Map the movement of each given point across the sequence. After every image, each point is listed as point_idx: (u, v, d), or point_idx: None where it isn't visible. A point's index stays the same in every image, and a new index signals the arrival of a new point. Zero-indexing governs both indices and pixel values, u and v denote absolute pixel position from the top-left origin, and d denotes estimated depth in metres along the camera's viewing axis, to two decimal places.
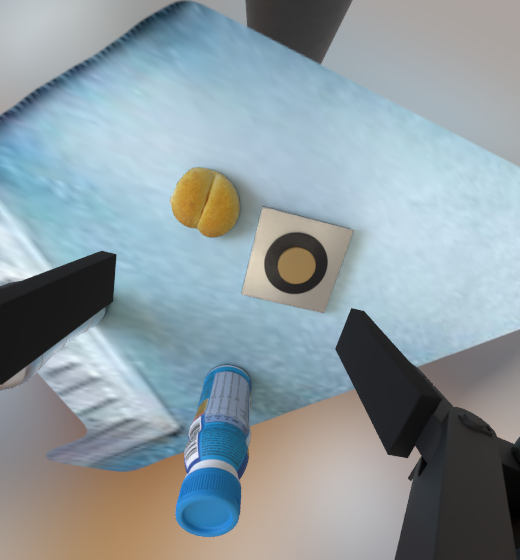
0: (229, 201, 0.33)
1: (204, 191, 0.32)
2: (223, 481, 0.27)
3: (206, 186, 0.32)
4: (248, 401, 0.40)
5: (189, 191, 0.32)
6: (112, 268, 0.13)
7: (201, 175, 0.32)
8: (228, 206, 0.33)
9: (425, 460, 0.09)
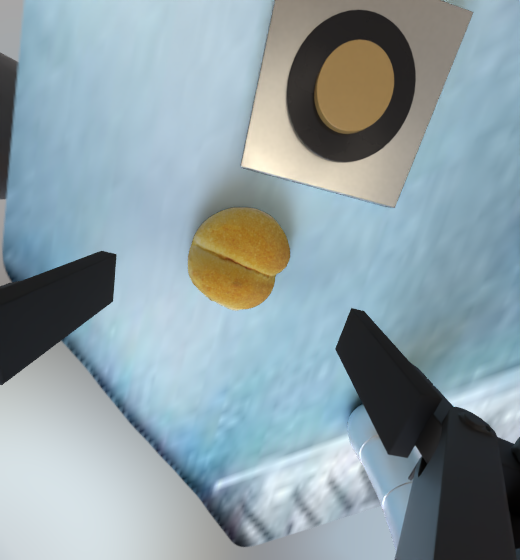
0: (231, 224, 0.20)
1: (218, 263, 0.21)
2: None
3: (210, 259, 0.21)
4: None
5: (217, 285, 0.21)
6: (112, 268, 0.13)
7: (195, 265, 0.21)
8: (239, 226, 0.20)
9: (425, 460, 0.09)
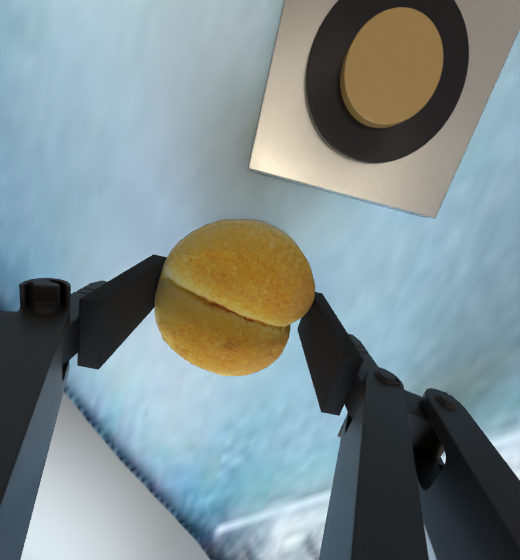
0: (219, 249, 0.12)
1: (199, 312, 0.13)
2: None
3: (187, 304, 0.13)
4: None
5: (198, 348, 0.13)
6: None
7: (164, 312, 0.13)
8: (233, 253, 0.12)
9: (350, 417, 0.10)
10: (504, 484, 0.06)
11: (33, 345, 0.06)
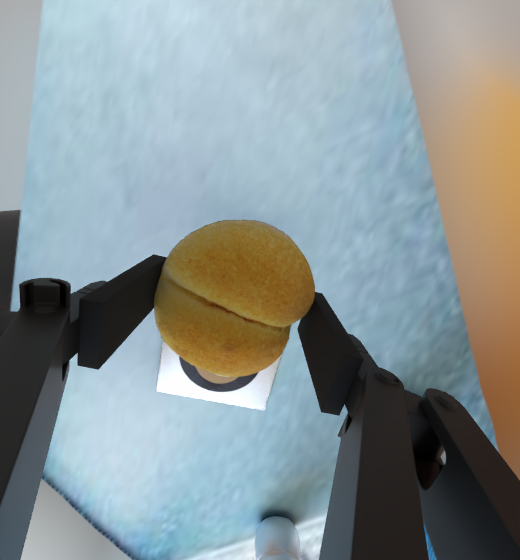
0: (219, 249, 0.12)
1: (198, 313, 0.13)
2: None
3: (187, 305, 0.13)
4: None
5: (198, 348, 0.13)
6: None
7: (163, 313, 0.13)
8: (233, 254, 0.12)
9: (350, 417, 0.10)
10: (504, 484, 0.06)
11: (33, 345, 0.06)
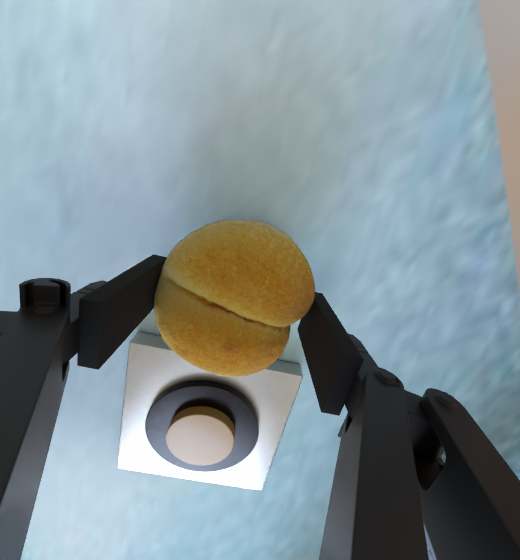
0: (219, 249, 0.12)
1: (199, 312, 0.13)
2: None
3: (187, 305, 0.13)
4: None
5: (198, 348, 0.13)
6: None
7: (163, 313, 0.13)
8: (233, 254, 0.12)
9: (350, 417, 0.10)
10: (504, 484, 0.06)
11: (33, 345, 0.06)
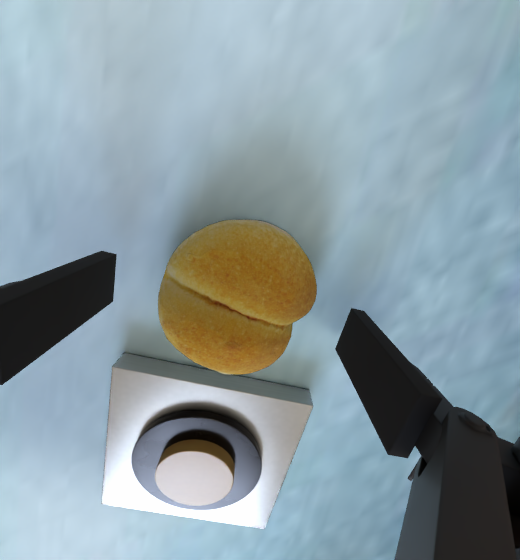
0: (223, 249, 0.12)
1: (203, 311, 0.13)
2: None
3: (191, 304, 0.13)
4: None
5: (202, 346, 0.13)
6: (112, 268, 0.13)
7: (167, 312, 0.13)
8: (236, 253, 0.12)
9: (425, 460, 0.09)
10: None
11: None
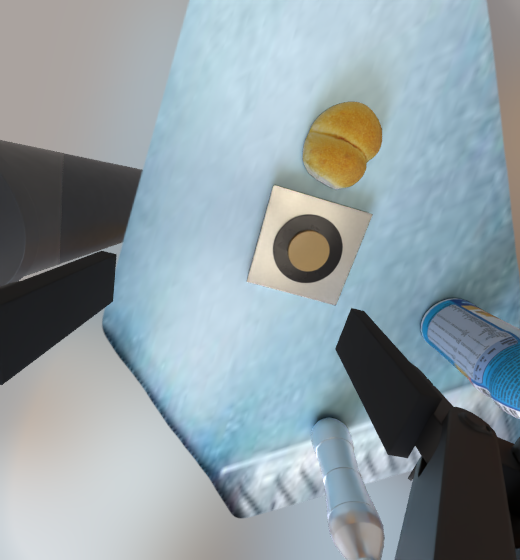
0: (346, 109, 0.28)
1: (333, 141, 0.28)
2: None
3: (327, 138, 0.29)
4: (474, 315, 0.32)
5: (332, 157, 0.28)
6: (112, 268, 0.13)
7: (315, 144, 0.29)
8: (353, 111, 0.28)
9: (425, 460, 0.09)
10: None
11: None
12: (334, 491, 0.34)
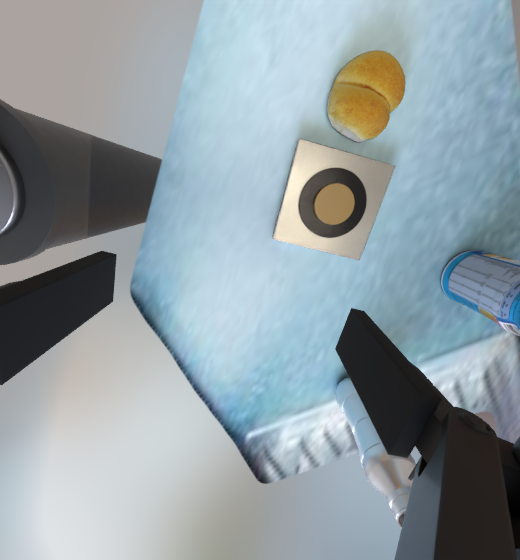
0: (372, 57, 0.29)
1: (359, 89, 0.29)
2: None
3: (353, 88, 0.29)
4: (496, 260, 0.34)
5: (359, 105, 0.29)
6: (112, 268, 0.13)
7: (341, 94, 0.30)
8: (378, 58, 0.28)
9: (425, 460, 0.09)
10: None
11: None
12: (366, 436, 0.35)
